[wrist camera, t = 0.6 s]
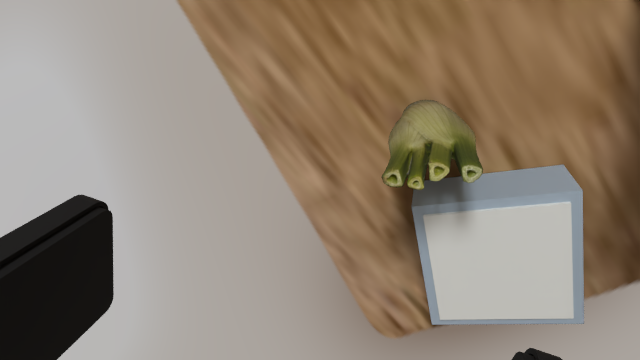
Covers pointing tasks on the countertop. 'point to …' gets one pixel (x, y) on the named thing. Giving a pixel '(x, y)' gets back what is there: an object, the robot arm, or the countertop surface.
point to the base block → (502, 247)
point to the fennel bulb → (430, 146)
